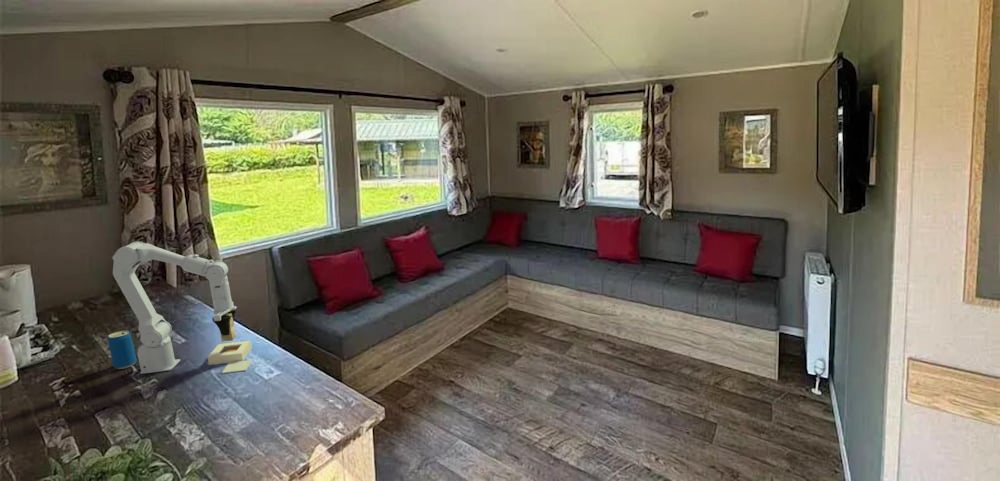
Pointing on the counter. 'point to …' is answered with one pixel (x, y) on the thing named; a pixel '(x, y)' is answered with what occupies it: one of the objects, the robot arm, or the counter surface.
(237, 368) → the rubber mat
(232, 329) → the wood grain block
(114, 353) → the beverage can
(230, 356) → the cream square frame
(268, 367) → the counter surface
